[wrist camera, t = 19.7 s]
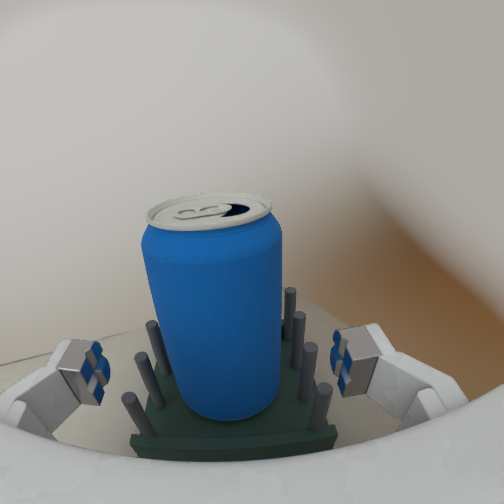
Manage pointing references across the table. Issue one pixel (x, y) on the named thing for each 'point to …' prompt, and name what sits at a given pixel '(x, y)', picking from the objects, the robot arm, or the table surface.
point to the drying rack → (236, 431)
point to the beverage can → (218, 298)
